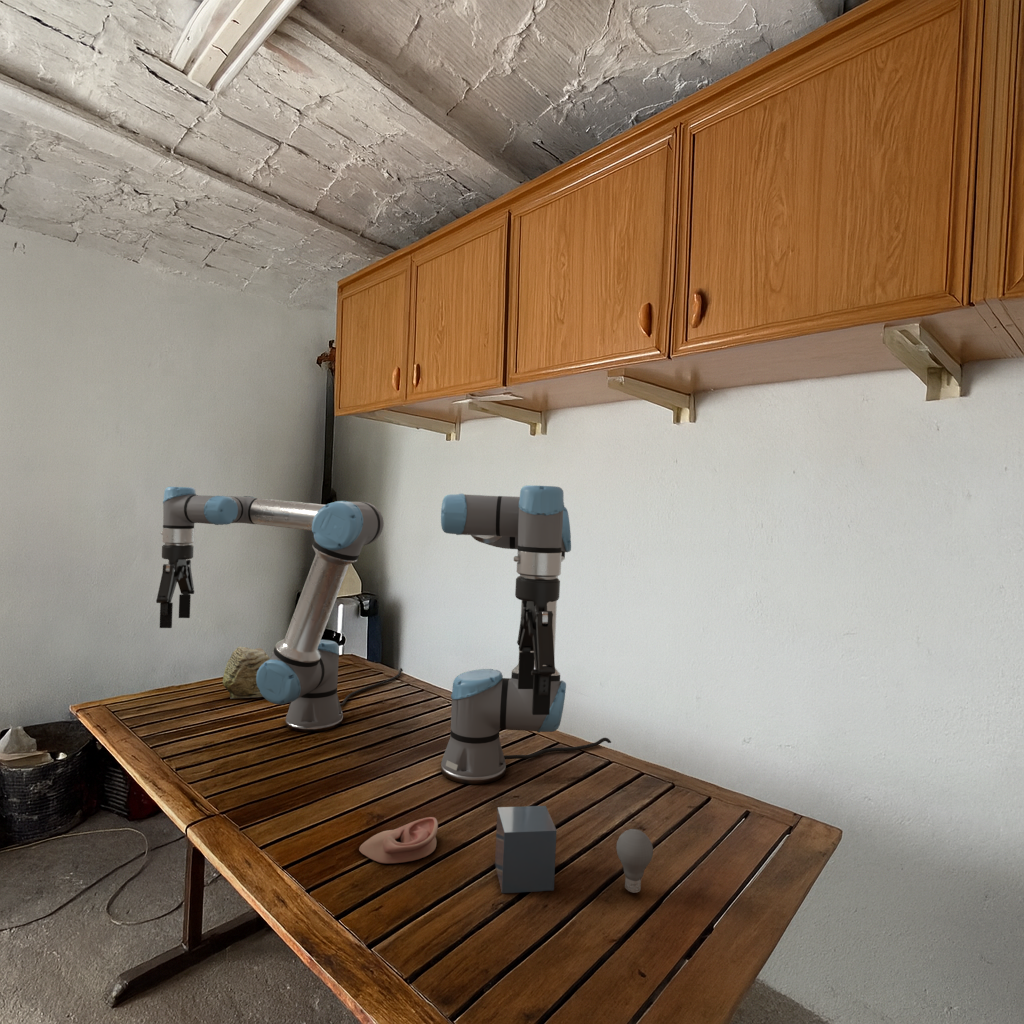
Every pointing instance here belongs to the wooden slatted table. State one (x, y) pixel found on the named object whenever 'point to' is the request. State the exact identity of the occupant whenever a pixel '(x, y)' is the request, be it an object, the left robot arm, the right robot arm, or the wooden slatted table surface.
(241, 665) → the fossil
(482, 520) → the right robot arm
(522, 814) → the block
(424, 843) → the anatomical model
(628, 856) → the light bulb
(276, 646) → the left robot arm
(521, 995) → the wooden slatted table surface
